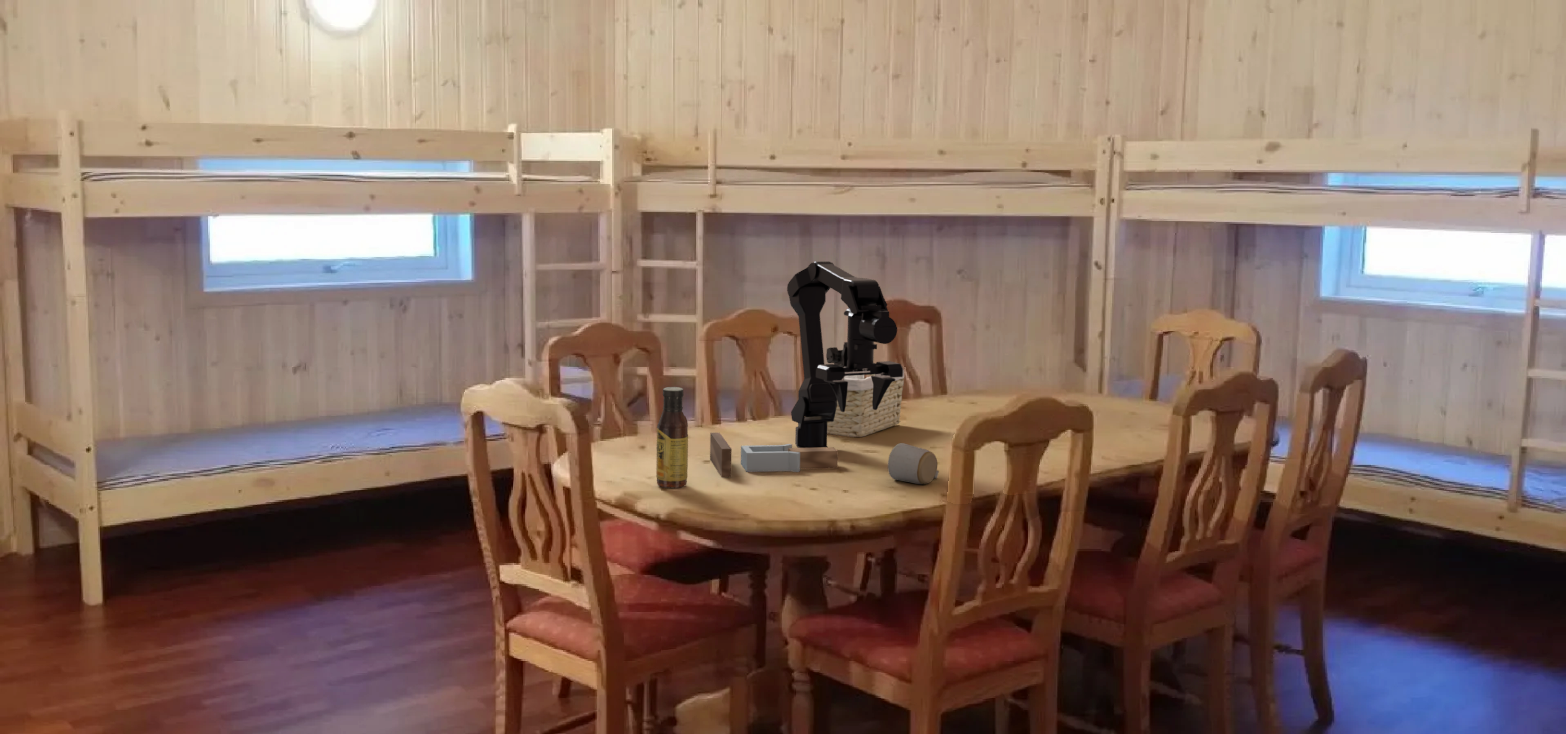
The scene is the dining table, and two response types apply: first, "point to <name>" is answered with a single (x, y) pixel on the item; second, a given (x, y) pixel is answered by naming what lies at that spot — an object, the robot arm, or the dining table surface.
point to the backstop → (720, 454)
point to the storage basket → (867, 408)
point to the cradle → (769, 458)
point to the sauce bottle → (672, 441)
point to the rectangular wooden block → (817, 457)
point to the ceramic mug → (912, 464)
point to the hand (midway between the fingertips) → (858, 410)
